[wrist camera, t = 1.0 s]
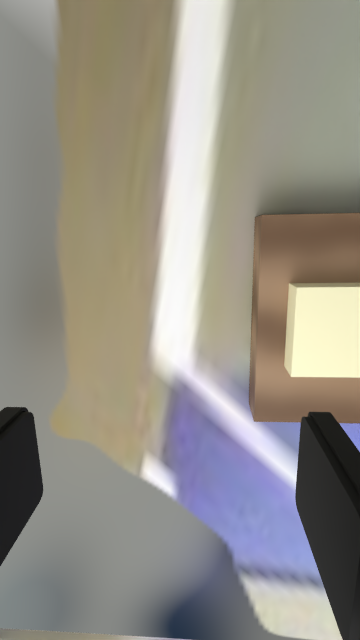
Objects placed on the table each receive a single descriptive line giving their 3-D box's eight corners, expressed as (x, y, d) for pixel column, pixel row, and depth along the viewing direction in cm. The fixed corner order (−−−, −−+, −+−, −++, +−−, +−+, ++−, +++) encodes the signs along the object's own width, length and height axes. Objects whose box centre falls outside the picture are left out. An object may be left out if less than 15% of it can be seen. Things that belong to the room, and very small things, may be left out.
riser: (255, 217, 25) (261, 215, 22) (453, 213, 24) (487, 210, 21) (248, 402, 29) (254, 421, 26) (422, 405, 28) (447, 424, 25)
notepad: (288, 283, 23) (296, 287, 21) (427, 282, 23) (448, 286, 21) (284, 366, 25) (291, 376, 23) (413, 366, 24) (432, 378, 22)
